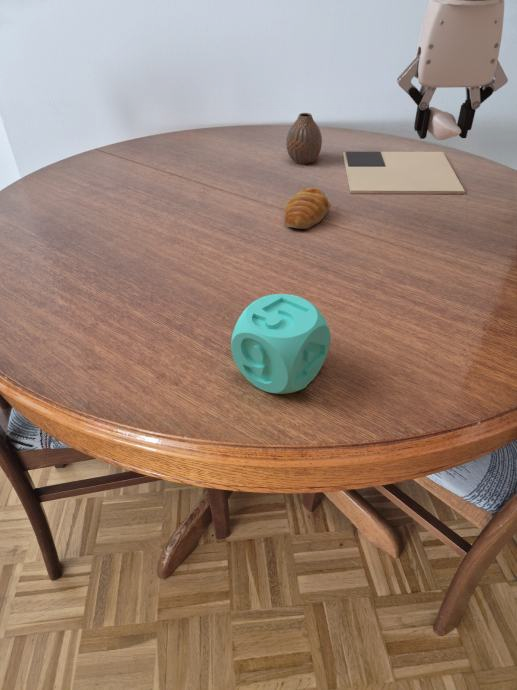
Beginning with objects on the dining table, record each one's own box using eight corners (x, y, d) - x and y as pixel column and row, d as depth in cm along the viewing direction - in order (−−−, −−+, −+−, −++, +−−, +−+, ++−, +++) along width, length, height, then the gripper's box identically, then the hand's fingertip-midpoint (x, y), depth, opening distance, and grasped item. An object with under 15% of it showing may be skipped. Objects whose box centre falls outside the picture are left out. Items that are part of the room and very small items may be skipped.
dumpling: (413, 132, 81) (421, 104, 80) (446, 138, 82) (454, 110, 80) (430, 140, 75) (439, 110, 74) (465, 146, 76) (474, 116, 74)
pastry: (314, 235, 85) (315, 213, 83) (274, 228, 87) (274, 206, 85) (332, 210, 92) (333, 188, 89) (294, 203, 94) (295, 182, 91)
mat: (442, 154, 109) (443, 150, 109) (464, 194, 96) (465, 189, 95) (342, 154, 110) (342, 150, 110) (350, 193, 97) (350, 189, 96)
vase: (326, 157, 109) (329, 112, 103) (310, 169, 105) (312, 123, 99) (296, 151, 112) (298, 106, 106) (279, 162, 107) (280, 116, 102)
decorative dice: (328, 365, 63) (334, 310, 57) (288, 406, 58) (290, 349, 53) (273, 338, 66) (273, 284, 61) (231, 374, 62) (227, 319, 57)
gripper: (529, -19, 70) (492, 125, 82) (395, -17, 70) (378, 127, 82) (552, -10, 64) (508, 144, 76) (406, -7, 64) (385, 145, 76)
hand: (441, 133), depth 79 cm, fingers closed on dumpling, 5 cm apart
